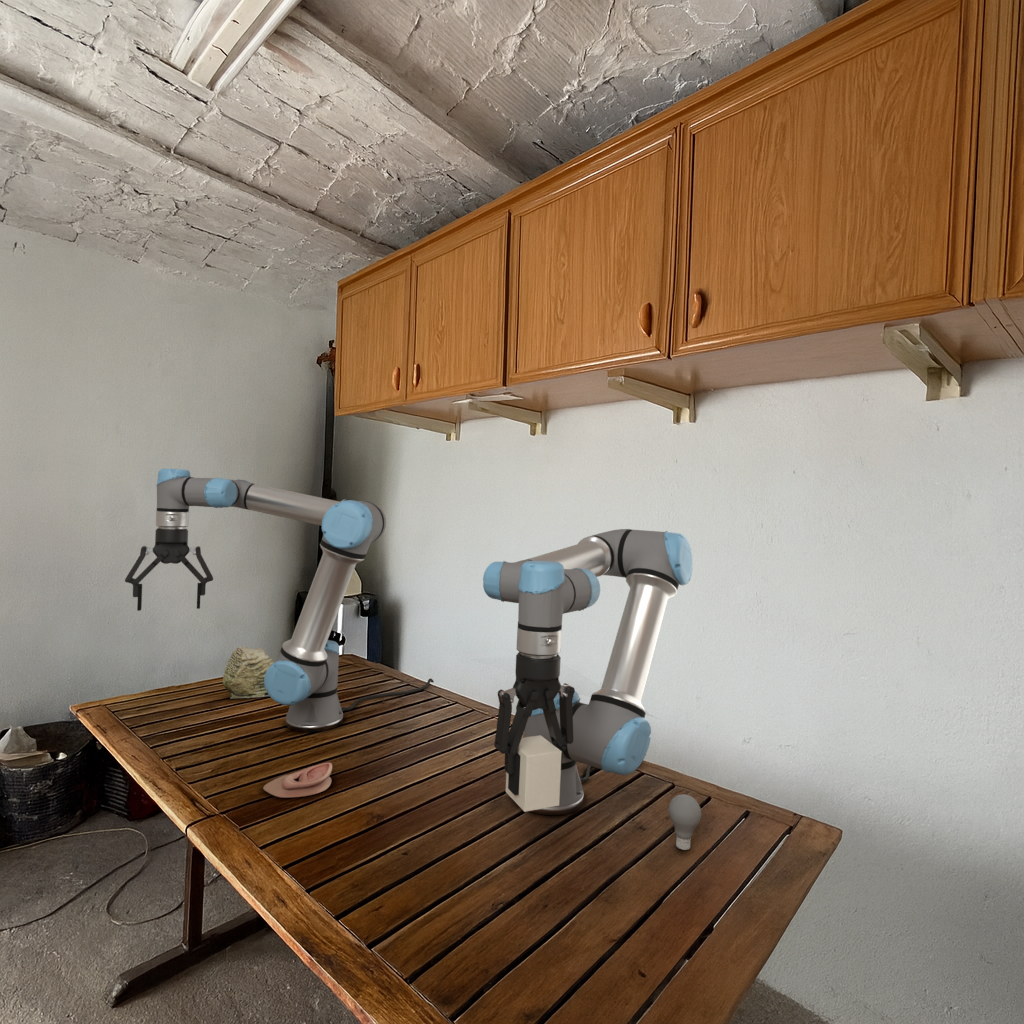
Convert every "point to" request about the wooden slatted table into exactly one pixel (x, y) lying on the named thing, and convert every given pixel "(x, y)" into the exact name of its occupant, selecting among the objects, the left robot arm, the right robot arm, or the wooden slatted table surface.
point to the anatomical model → (301, 782)
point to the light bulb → (684, 818)
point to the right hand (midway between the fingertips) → (532, 788)
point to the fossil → (246, 673)
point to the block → (537, 774)
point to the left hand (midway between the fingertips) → (169, 608)
